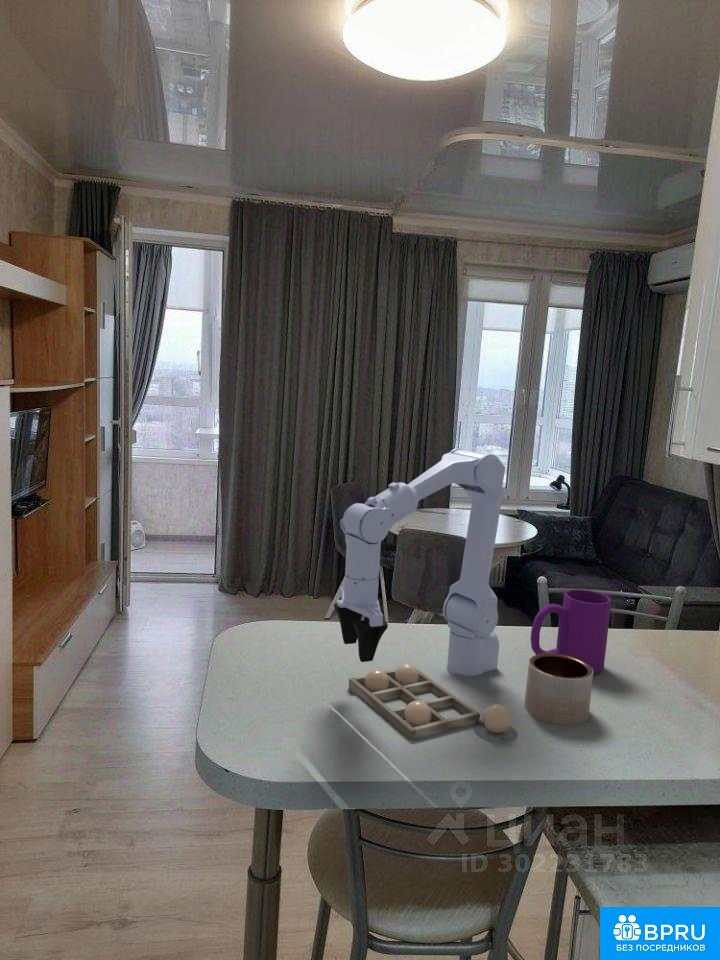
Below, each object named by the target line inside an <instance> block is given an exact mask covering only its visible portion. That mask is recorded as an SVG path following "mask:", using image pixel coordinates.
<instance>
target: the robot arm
mask: <svg viewBox="0 0 720 960" xmlns="http://www.w3.org/2000/svg"><path fill="white" fill-rule="evenodd" d="M505 472H506V466H505V465H504V464H503V462H502V461H501V460H500V458H499V457H498V456H497V455H495V454H493V453H483V452H478V451H471V450H466V449H463V448H459V447H458V448H454V449H452V450H450V451H449V452H447V453H445V454H443V455H442V456H441V460H439V461H438V462H437V463H436V464H434V465H433V466H431V467H430V468H428V469H427V470H426V471H424V472H423V473H421V474H420V475H419V476H417V477H416V478H415V479H413V480H412V481H410V482H409V483H408V484H406V483H405V482H401V481H400V482H391V483H389V484H388V488H387V489H385V490H383V491H382V492H380V493H378V494H377V495H375V496H370V497H368V498H367V501H365V502H364V503H359V502H356V503H354V504H352V505H350V506H349V507H347V509H346V510H345V511H344V513H343V517H342V519H340V520H339V522H340V523H339V524H340V527H341V530H342V532H343V533H344V536H345V541H344V542H345V543H346V547H345V548H346V549H345V551H346V553H345V568H344V571H345V572H344V587H343V586H342V587H340V590H339V591H340V592H339V598H340V599H337V601H336V602H334V603H333V607H334V609H335V611H336V612H335V613H337V617H338V620H339V623H340V624H339V625H340V629H341V635H342V641H343V644H344V645H352V644H357V645H358V647H357V649H358V657H359V661H360V662H361V663H365V662H372V661H373V660H374V658H375V656H376V655H375V654H376V651H377V649H378V645H379V643H380V640H381V638H382V636H383V635H384V634H385V632H386V630H387V629H388V627H389V623H388V622H387V621H386V620H384V614H383V613H382V612H381V607H380V601H379V598H378V597H379V596H378V595H379V580H380V564H381V563H380V562H381V561H380V560H381V549H382V548H381V544H382V541H384V540H385V538H386V537H387V536H388V533H389V531H390V530H391V528H392V527H393V526H394V525H395V524H397V523H399V522H400V521H402V520H403V519H405V518H407V517H408V516H409V515H412V514H413V513H414V512H416V511H417V509H418V505H419V501H421V500H423V499H425V498H427V497H428V496H431V495H432V494H435V493H436V492H437V491H439V490H442V489H444V488H445V487H448V486H449V485H451V484H455V485H457V486H459V487H460V488H462V489H463V491H465V494H467V495H468V497H469V498H470V499H471V506H470V512H469V520H468V525H467V531H466V539H465V543H464V544H465V545H464V551H463V557H462V563H461V564H462V565H461V570H460V577H459V580H458V581H456V582H455V583H453V584H451V585H450V586H449V588H448V589H449V591H448V594H447V597H446V598H445V600H444V602H443V607H442V615H443V617H444V619H445V620H446V621H447V627H448V628H449V637H448V649H447V650H448V651H447V652H448V653H447V663H446V670H447V671H448V672H449V673H450V674H452V675H461V676H467V677H468V676H469V677H471V676H473V677H474V676H479V675H482V674H483V673H484V674H485V673H487V672H492V671H495V670H498V663H499V651H500V641H499V638H498V635H497V633H496V632H495V629H496V627H497V626H498V625H497V624H498V621H499V613H498V597H497V595H496V594H495V592H494V590H493V589H492V588H491V586H490V584H489V583H490V582H489V581H490V577H491V576H490V575H491V571H492V570H491V569H492V565H493V558H494V557H493V556H494V552H495V544H496V539H497V533H498V526H499V520H500V513H501V507H502V501H503V485H504V479H505ZM362 617H364V618H363V619H362Z"/></svg>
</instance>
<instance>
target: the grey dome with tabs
mask: <svg viewBox="0 0 720 960" xmlns="http://www.w3.org/2000/svg"><path fill="white" fill-rule="evenodd" d="M473 733H474V734H475V735H476V736H477V737H478V738H480V739H482V740H484V741H487V742H490V743H493V744H509V743H512V742H514V741H516V740H517V739H518V735H519V734H518V731H517V730H516V729H515V728H514V727H513V726H512V725H511V724H510V725H509V727H508V729H507V730H506V731H504V732H502V733H493V732H491V731H489V730H488V729H487V728H486V727H485V725H484V723H483V719H480V722H479V723H475V724H474V725H473Z"/></svg>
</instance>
